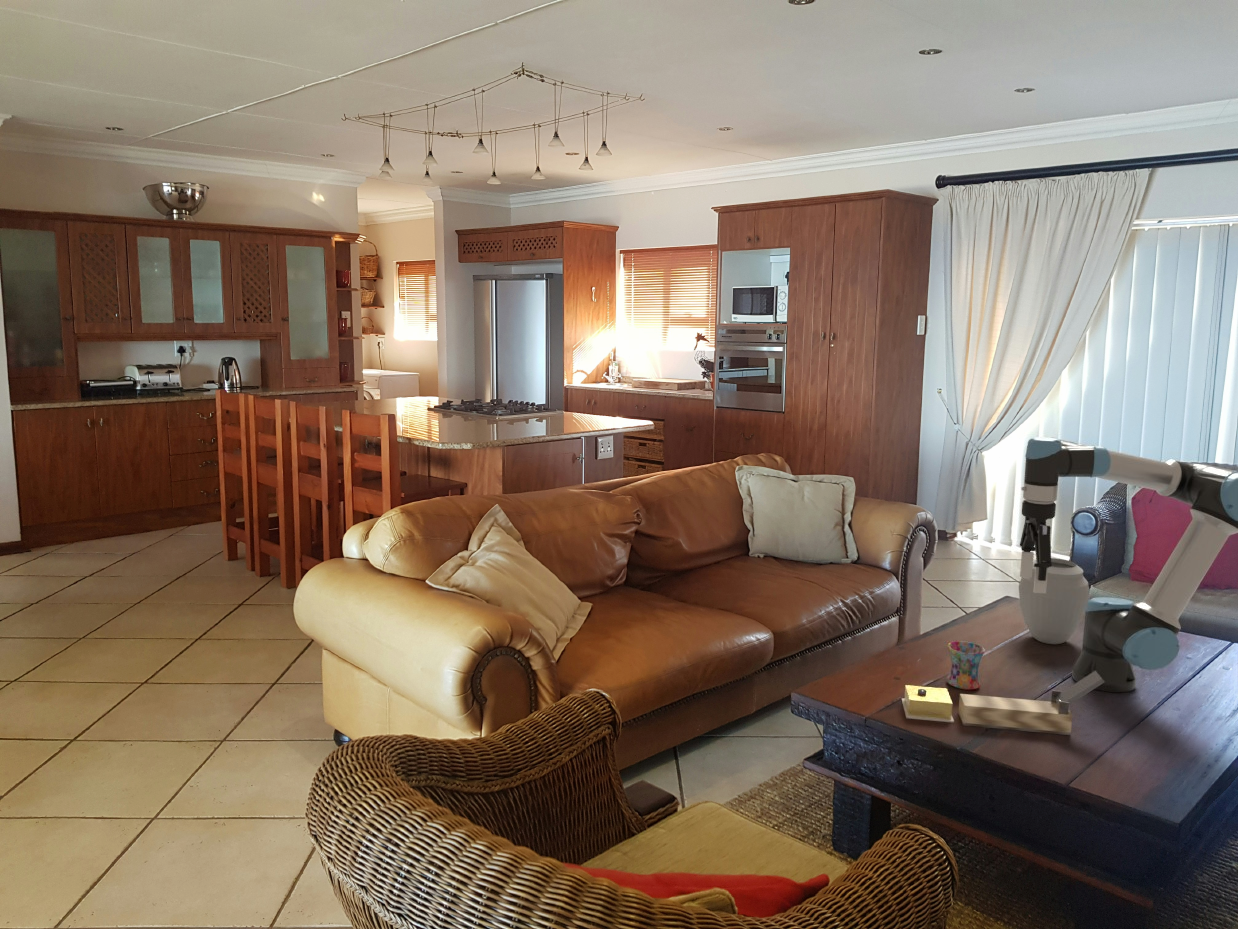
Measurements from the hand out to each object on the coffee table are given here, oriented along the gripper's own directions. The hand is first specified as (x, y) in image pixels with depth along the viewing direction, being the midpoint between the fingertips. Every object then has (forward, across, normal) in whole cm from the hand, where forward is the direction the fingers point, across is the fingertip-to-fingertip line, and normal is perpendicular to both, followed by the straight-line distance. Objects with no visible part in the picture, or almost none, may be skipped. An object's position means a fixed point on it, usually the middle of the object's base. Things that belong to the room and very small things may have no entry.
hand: (1032, 584), depth 227 cm
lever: (+25, +13, +5) cm, 28 cm away
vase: (+32, -51, +19) cm, 63 cm away
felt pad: (+31, +10, -25) cm, 41 cm away
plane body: (+31, +13, -5) cm, 34 cm away
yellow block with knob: (+31, +10, -25) cm, 41 cm away
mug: (+31, -10, -12) cm, 35 cm away
